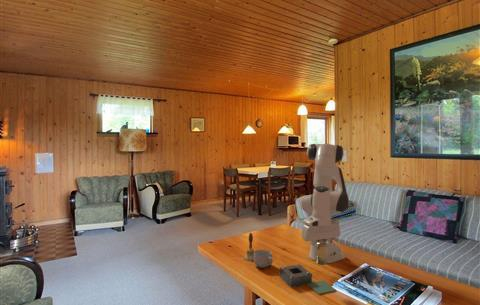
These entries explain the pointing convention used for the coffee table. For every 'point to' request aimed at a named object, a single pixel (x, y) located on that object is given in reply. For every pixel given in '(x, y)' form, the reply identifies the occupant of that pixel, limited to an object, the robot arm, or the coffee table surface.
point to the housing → (295, 275)
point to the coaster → (321, 287)
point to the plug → (321, 253)
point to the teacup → (263, 258)
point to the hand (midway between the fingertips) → (321, 247)
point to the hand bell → (250, 250)
